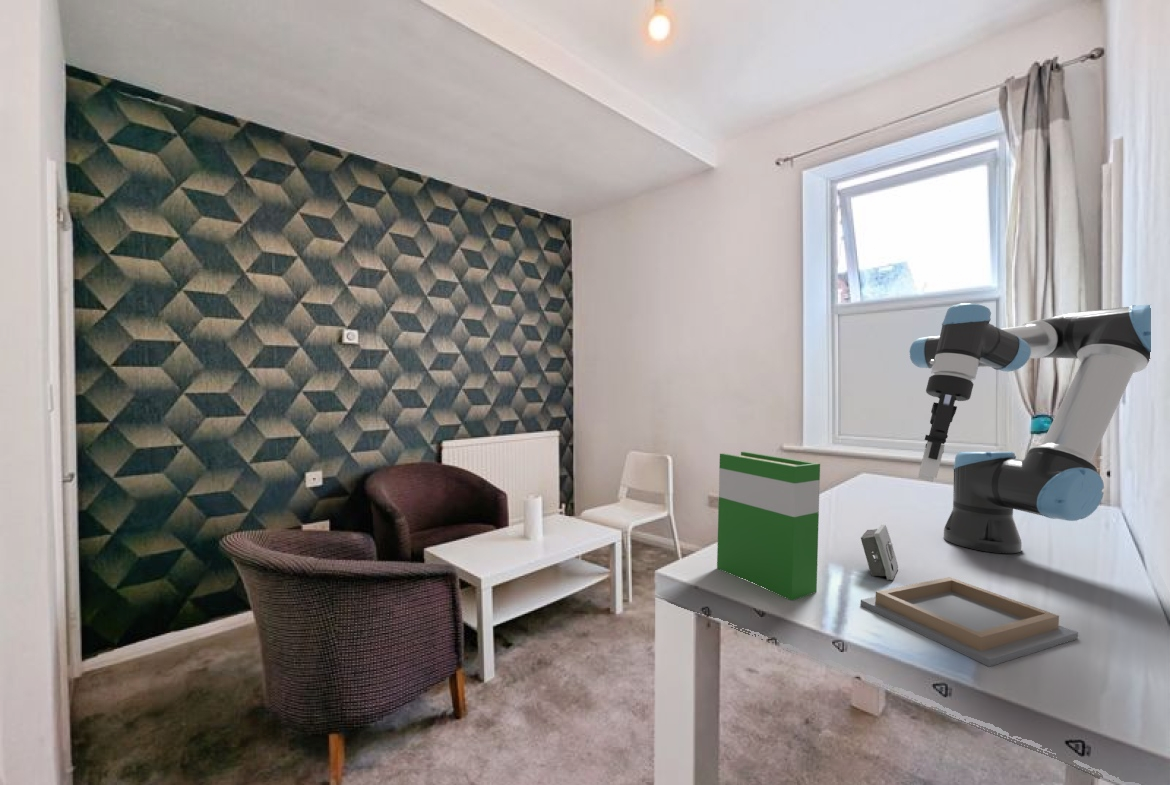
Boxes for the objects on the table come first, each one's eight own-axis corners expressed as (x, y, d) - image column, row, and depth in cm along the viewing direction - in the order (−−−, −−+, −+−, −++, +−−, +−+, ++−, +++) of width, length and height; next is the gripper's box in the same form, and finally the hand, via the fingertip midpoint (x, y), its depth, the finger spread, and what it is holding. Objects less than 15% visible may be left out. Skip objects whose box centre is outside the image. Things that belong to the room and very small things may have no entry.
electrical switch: (892, 582, 98) (888, 534, 98) (863, 578, 101) (859, 532, 102) (898, 569, 105) (895, 525, 106) (871, 565, 108) (867, 522, 109)
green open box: (717, 568, 104) (719, 453, 103) (741, 562, 107) (743, 451, 107) (791, 600, 89) (795, 466, 88) (816, 592, 92) (820, 463, 92)
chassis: (943, 588, 95) (943, 572, 95) (1077, 638, 77) (1078, 619, 77) (860, 605, 87) (861, 588, 87) (989, 666, 69) (989, 645, 68)
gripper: (927, 387, 115) (904, 476, 113) (933, 359, 94) (905, 468, 93) (967, 394, 110) (944, 486, 109) (982, 366, 90) (954, 480, 89)
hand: (926, 478), depth 101 cm, fingers open, 13 cm apart
